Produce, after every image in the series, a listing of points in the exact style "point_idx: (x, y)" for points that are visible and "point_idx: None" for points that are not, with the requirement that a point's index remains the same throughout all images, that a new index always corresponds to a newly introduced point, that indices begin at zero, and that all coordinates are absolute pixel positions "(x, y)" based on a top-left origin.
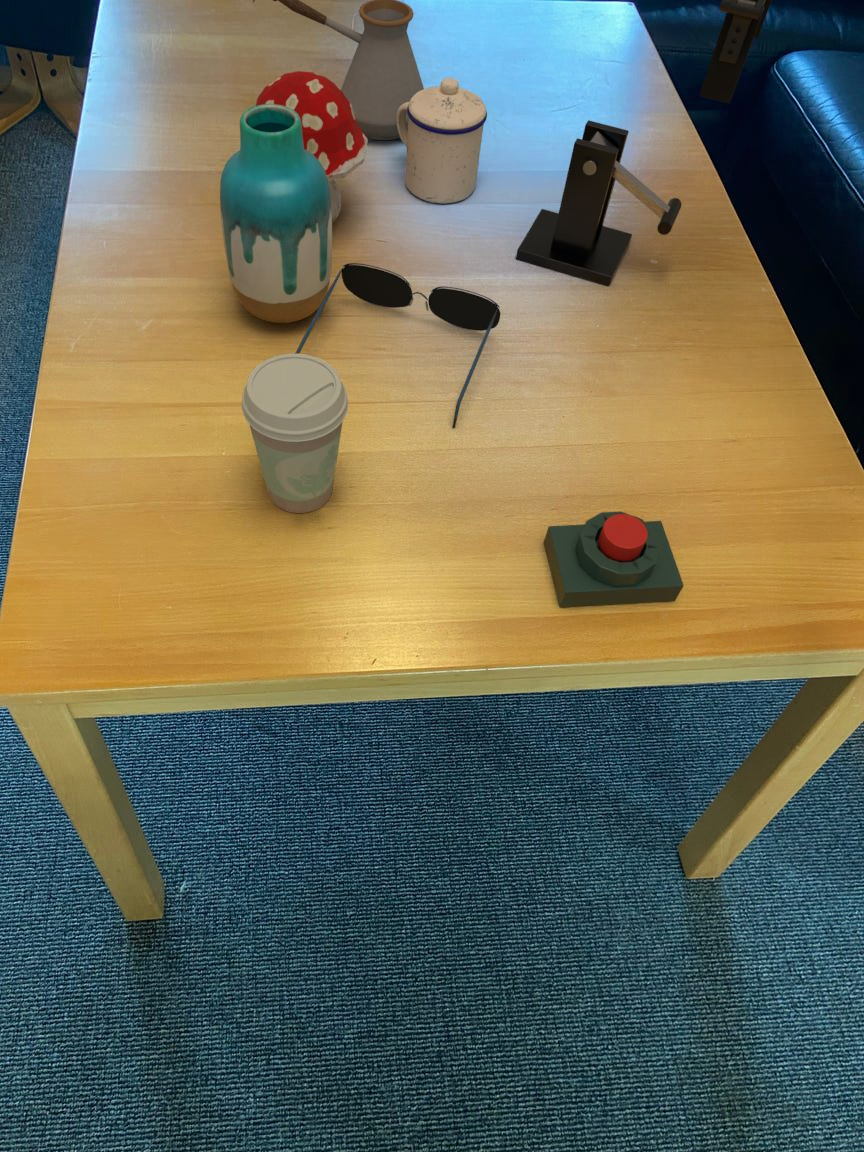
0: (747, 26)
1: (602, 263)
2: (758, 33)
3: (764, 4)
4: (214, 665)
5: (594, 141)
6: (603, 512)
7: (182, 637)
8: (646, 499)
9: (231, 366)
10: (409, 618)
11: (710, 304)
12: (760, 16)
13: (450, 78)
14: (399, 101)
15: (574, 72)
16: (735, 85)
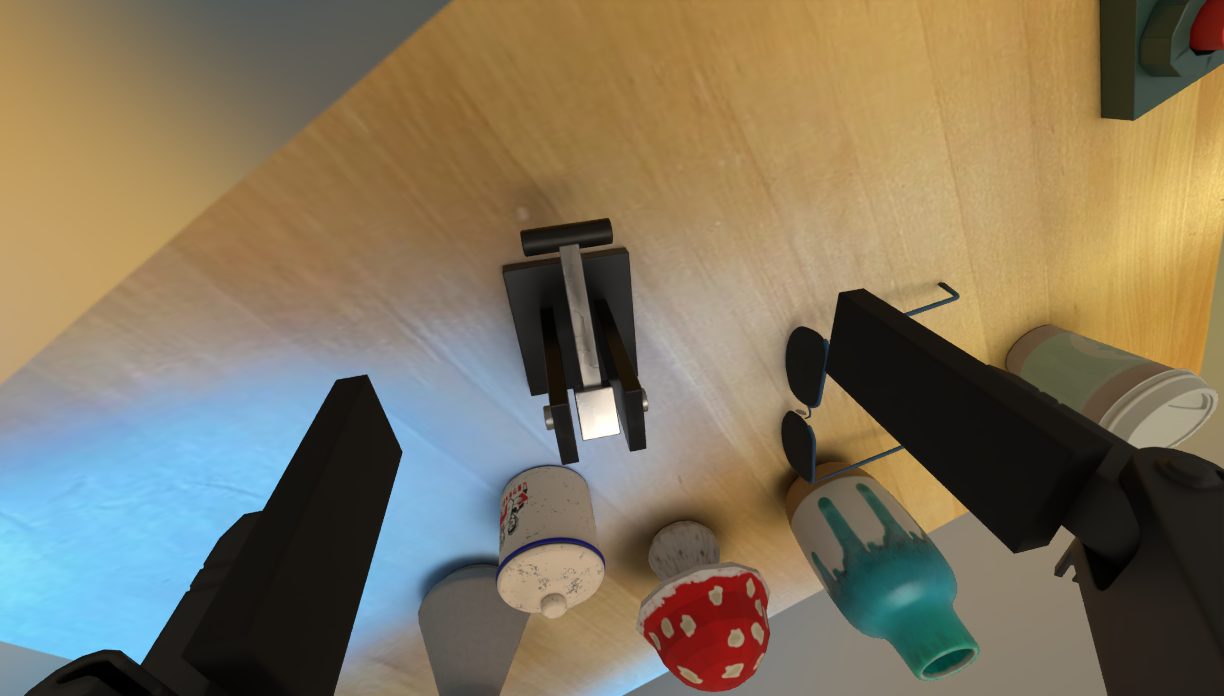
0: (1132, 448)
1: (604, 277)
2: (364, 386)
3: (344, 464)
4: (1203, 300)
5: (614, 429)
6: (1171, 60)
7: (1174, 332)
8: (1034, 17)
9: (897, 464)
10: (1182, 196)
11: (577, 77)
12: (1102, 450)
13: (547, 615)
14: (500, 606)
15: (110, 529)
16: (898, 312)
